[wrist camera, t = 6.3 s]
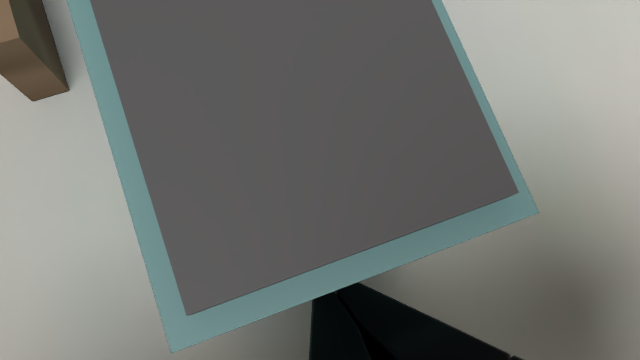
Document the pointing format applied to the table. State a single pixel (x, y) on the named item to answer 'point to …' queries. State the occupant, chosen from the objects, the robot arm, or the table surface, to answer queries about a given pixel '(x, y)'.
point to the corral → (29, 50)
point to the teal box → (291, 146)
